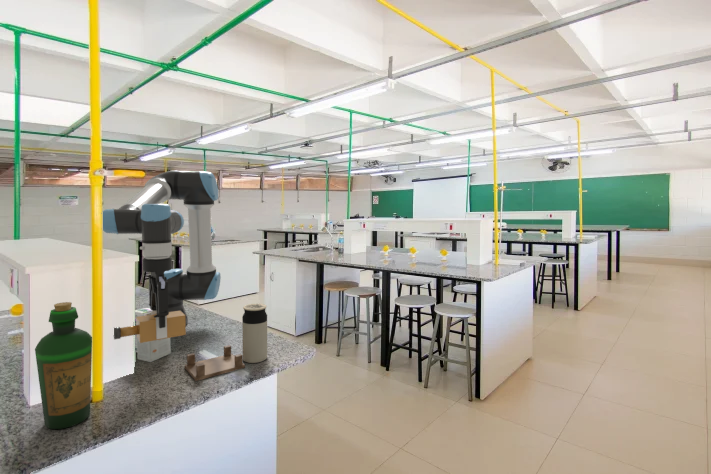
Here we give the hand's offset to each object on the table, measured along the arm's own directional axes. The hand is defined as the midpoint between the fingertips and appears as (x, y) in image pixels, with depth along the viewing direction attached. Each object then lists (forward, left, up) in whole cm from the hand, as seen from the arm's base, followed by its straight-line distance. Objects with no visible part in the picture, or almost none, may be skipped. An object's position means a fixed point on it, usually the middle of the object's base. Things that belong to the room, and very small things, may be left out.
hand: (159, 334), depth 110 cm
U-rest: (+4, +15, -13) cm, 20 cm away
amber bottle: (0, -2, 0) cm, 2 cm away
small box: (-17, +2, -13) cm, 22 cm away
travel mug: (+5, +28, -13) cm, 31 cm away
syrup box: (-24, +1, -13) cm, 28 cm away
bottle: (+12, -22, -13) cm, 28 cm away
